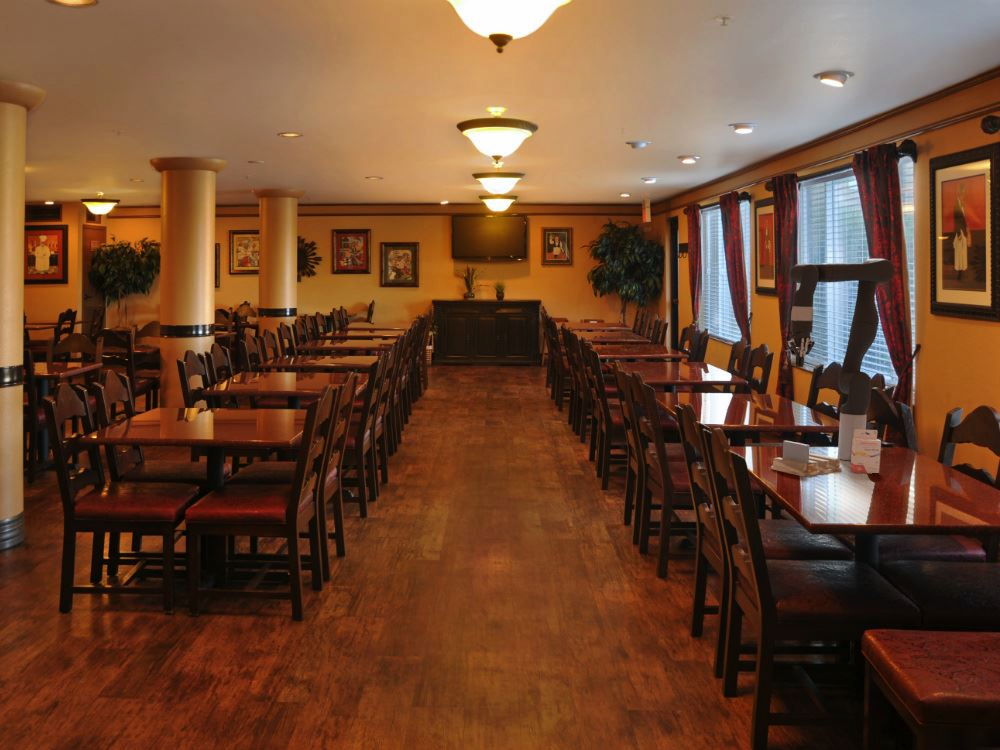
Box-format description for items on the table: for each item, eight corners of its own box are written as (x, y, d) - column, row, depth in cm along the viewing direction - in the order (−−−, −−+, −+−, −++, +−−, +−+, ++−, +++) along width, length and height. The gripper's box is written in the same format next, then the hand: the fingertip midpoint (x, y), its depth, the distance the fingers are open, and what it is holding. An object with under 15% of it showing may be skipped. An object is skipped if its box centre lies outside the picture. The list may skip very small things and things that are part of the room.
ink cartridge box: (854, 473, 320) (856, 431, 319) (850, 470, 325) (852, 428, 324) (879, 474, 319) (882, 432, 318) (875, 471, 324) (877, 429, 323)
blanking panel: (785, 465, 325) (786, 440, 324) (808, 471, 317) (809, 445, 316) (782, 466, 325) (783, 440, 324) (805, 471, 316) (806, 445, 315)
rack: (809, 463, 335) (809, 452, 335) (841, 470, 323) (842, 459, 323) (770, 468, 324) (771, 457, 324) (802, 476, 313) (803, 464, 312)
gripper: (805, 318, 340) (803, 365, 341) (781, 318, 333) (778, 366, 334) (822, 319, 333) (820, 367, 335) (797, 319, 326) (795, 368, 328)
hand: (799, 366), depth 335 cm, fingers closed
